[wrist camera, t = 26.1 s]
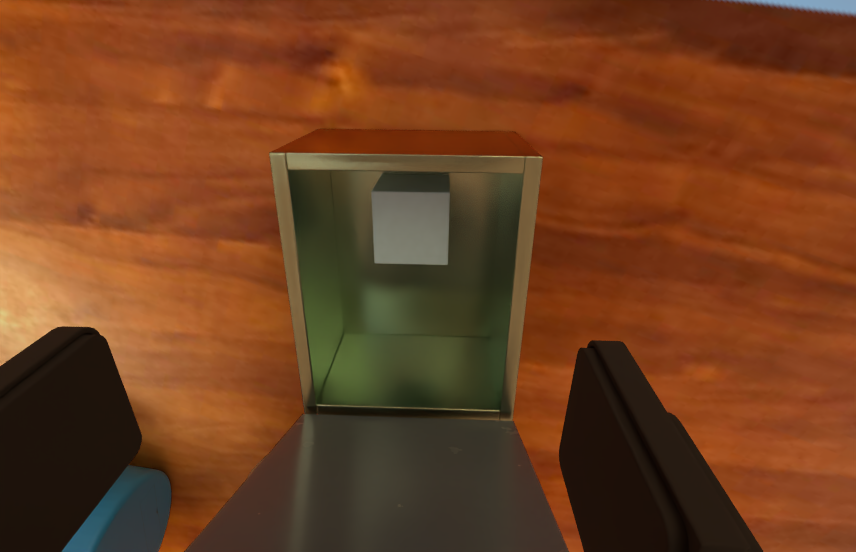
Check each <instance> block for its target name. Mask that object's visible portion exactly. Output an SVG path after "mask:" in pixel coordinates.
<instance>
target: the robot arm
mask: <svg viewBox="0 0 856 552" xmlns="http://www.w3.org/2000/svg"><path fill="white" fill-rule="evenodd" d="M141 442H142V435H141V432H140V429H139V426H138V423H137V421H136V418H135V415H134V413H133V410H132V407H131V405H130V402H129V399H128V396H127V394H126V391H125V388H124V386H123V383H122V380H121V378H120V375H119V372H118V369H117V367H116V364H115V361H114V359H113V356H112V353H111V351H110V348H109V345H108V342H107V340H106V339H105V338H104V337H103V336H101V335H100V334H99V332H98V331H97V330H95V329H94V328H91V327H57V328H55V329H53V330H51V331H50V332H48V333H47V334H46V335H44V336H43V337H41V338H40V339H39V340H37V341H36V342H34V343H33V344H31V345H30V346H29V347H27V348H26V349H24V350H23V351H21V352H20V353H19V354H17V355H16V356H14V357H13V358H11V359H10V360H9V361H7V362H6V363H4V364H3V365H1V366H0V552H62V550H63V549H64V548H65V546H66V545H67V544H68V543H69V541H70V540H71V539H72V537H73V536H74V535H75V533H76V532H77V531H78V530H79V528H80V527H81V526H82V524H83V523H84V522H85V520H86V519H87V518H88V517H89V515H90V514H91V513H92V511H93V510H94V509H95V507H96V506H97V505H98V504H99V502H100V501H101V500H102V498H103V497H104V496H105V494H106V493H107V492H108V491H109V489H110V488H111V487H112V485H113V484H114V483H115V482H116V480H117V479H118V478H119V476H120V475H121V474H122V472H123V471H124V470H125V469H126V467H127V466H128V465H129V463H130V462H131V461H132V459H133V458H134V457H135V456H136V454H137V453H138V451H139V449H140V446H141ZM559 461H560V467H561V471H562V474H563V478H564V481H565V485H566V488H567V492H568V496H569V499H570V503H571V506H572V510H573V513H574V517H575V521H576V524H577V528H578V531H579V535H580V538H581V542H582V546H583V549H584V552H763V550H762V548H761V547H760V545H759V544H758V542H757V541H756V539H755V537H754V536H753V534H752V533H751V531H750V530H749V528H748V527H747V525H746V523H745V522H744V520H743V519H742V517H741V516H740V514H739V513H738V511H737V509H736V508H735V506H734V505H733V503H732V502H731V500H730V498H729V497H728V495H727V494H726V492H725V491H724V489H723V488H722V486H721V484H720V483H719V481H718V480H717V478H716V477H715V475H714V474H713V472H712V470H711V469H710V467H709V466H708V464H707V463H706V461H705V459H704V458H703V456H702V455H701V453H700V452H699V450H698V449H697V447H696V445H695V444H694V442H693V441H692V439H691V438H690V436H689V435H688V433H687V431H686V430H685V428H684V427H683V425H682V424H681V422H680V421H679V420H678V419H677V417H676V416H675V415H673V414H671V413H667V411H666V410H665V408H664V407H663V405H662V403H661V402H660V400H659V399H658V397H657V395H656V394H655V392H654V391H653V389H652V387H651V386H650V384H649V382H648V381H647V379H646V378H645V376H644V374H643V373H642V371H641V370H640V368H639V366H638V365H637V363H636V362H635V360H634V358H633V357H632V355H631V353H630V352H629V350H628V349H627V347H626V345H625V344H624V343H623V342H621V341H590V342H589V344H588V346H587V348H580V349H579V351H578V354H577V359H576V364H575V369H574V374H573V380H572V385H571V390H570V395H569V401H568V406H567V411H566V416H565V422H564V427H563V432H562V437H561V442H560V448H559Z"/></svg>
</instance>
